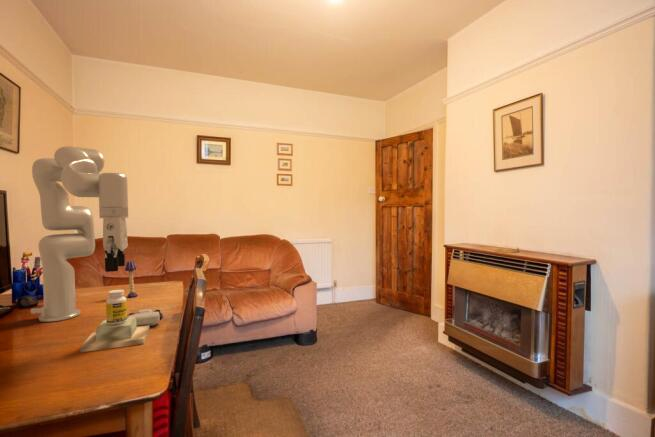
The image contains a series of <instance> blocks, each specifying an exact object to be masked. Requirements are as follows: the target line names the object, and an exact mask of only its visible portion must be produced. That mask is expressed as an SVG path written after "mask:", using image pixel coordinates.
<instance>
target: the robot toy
mask: <svg viewBox="0 0 655 437" xmlns="http://www.w3.org/2000/svg"><path fill="white" fill-rule="evenodd" d="M127 317H136V325H137V327H139V326H147V325H149V327H153V326H155V325H157V324H158V323H159V322H160V321H162V319H163V318H164V317H165V316H164V314H163V313H162V310H160V309H155V310H152V309H151V308H146V309H145V308H144V309H140V310H137V312H136V313H135V312H131V313H130V312H129V314H127Z"/></svg>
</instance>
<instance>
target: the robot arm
mask: <svg viewBox="0 0 655 437" xmlns="http://www.w3.org/2000/svg"><path fill="white" fill-rule="evenodd" d="M104 166H105V158H104V155H103V154H102V152H100V151H98V150H97V149H93V148H86V147H79V146H72V145H71V146H68V145H65V146H61V147H60V148H58V149H56V150H55V152H54V155H53V158H51V157H45V158H42V157H41V158H39V159H36V160H34V162H33V164H32V168H31V173H32V174H31V175H32V179H33V182H34V184H35V187H36V189H37V190H38V194H39V197H40V198H39V201H40V214H41V223H42V226H43V228H44V229H45V230H47V231H56V232H57V231H58V232H59V231H77V232H76V233H57V234H56V233H54V234H50V235H49V234H48V235H45V236H43V237H41V239H40V240H38V246H37V247H38V251H39V255H40V257H39V258H40V261H41V266H42V267H41V269H42V270H41V271H42V288H43V306H41V307H39V308H38V307H37V308H35V307H33V308H31V309H30V314H31V315H39V316H38V321H39V322H46V323H47V322H48V323H49V322H50V323H51V322H59V321H65V320H68V319H72V318H75V317H78V316H80V315H82V310H80V309H77V308H76V305H77V304H76V302H77V301H76V282H75V281H76V278H75V276H76V275H75V273H76V272H75V268H74V267H73V265H71V263H70V262H69V261H67V259H73V258H74V259H75V258H83V257H90V256H91V255H93V254H94V252H95V249H96V238H95V228H94V227H95V226H94V225H95V224H94V217H93V216H94V215H93V212H92V211H91V209H90V208H89V207H87V206H83V205H70V200H69V194H70V195H72V196H74V197H78V198H98V208H99V209H98V213H99V219H103V220H102V243H103V244H102V245H103V246H102V247H103V250H104V270H105V272H106V273H108V272H109V273H111V272H118V271H119V267H124V266H125V267H126V256H125V249H127V248H128V247H129V244H128V229H127V221H126V220H127V219H128V218H129V196H128V195H129V194H128V193H129V192H128V191H129V190H128V178H127V175H126V174H124V173H119V172H102V171H103V169H104ZM101 172H102V173H101ZM59 182H61V184H62V185H61V184H60V183H59Z"/></svg>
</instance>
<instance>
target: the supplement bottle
mask: <svg viewBox="0 0 655 437" xmlns="http://www.w3.org/2000/svg"><path fill="white" fill-rule="evenodd" d="M124 295H125V290H124V289H113V290H109V291H108V297H109V298H107V299H106V301H105V308H106V309H105V310H106V311H105V315H106V319H105V320H106V321H107V324H109V325H116V324H121V323H124V322H126V321H127V317H128V316H127V315H128V312H127V310H128V306H127V304H128V302H127V299H128V298H127V297H125V296H124Z"/></svg>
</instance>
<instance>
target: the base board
mask: <svg viewBox="0 0 655 437" xmlns="http://www.w3.org/2000/svg"><path fill="white" fill-rule="evenodd" d="M95 329H96V330H95V331H92V332H91V334H90V335H89V336H88V337H87V338H86V340H84V342H83V343H82V345H80V346H79V352H80V353H85V352H93V351H100V350H101V351H102V350H106V349H114V348H123V347H130V346H137V345H143V344H145V343H146V342H145V341H146V339H147V337H148V334H149V332H150V329H151V328H150V326H149V325H143V326H139V327H137V325H136V317H128V316H127V321H126V322H124V323H121V324H116V325H109V324H107V321H106V319H103V321H102V322H101V323H100V324H99V325H98V326H97V328H95Z"/></svg>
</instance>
